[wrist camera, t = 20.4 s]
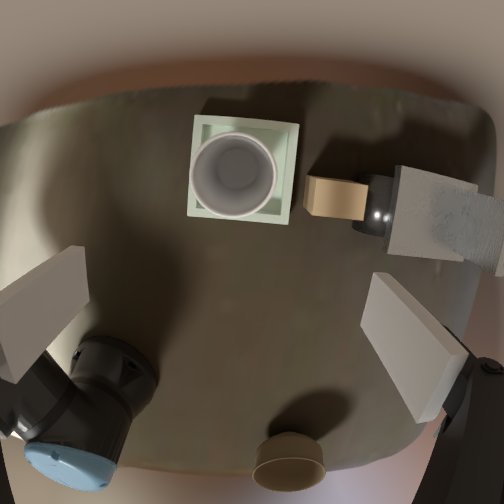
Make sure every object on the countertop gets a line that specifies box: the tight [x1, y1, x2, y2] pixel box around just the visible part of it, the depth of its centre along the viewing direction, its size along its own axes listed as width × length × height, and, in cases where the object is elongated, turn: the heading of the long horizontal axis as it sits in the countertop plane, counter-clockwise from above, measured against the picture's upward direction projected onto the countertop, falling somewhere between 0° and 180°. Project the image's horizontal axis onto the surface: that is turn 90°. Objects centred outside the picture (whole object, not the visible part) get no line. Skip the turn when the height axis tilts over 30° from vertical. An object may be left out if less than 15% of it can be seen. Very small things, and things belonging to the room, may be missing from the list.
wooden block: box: [303, 175, 368, 221], centre depth 36 cm, size 6×4×6 cm, turn 85°
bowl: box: [252, 432, 326, 492], centre depth 47 cm, size 13×13×10 cm
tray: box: [187, 115, 299, 225], centre depth 36 cm, size 12×12×2 cm
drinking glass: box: [189, 131, 277, 218], centre depth 30 cm, size 7×7×15 cm
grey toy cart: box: [352, 165, 504, 277], centre depth 32 cm, size 17×10×16 cm, turn 85°
